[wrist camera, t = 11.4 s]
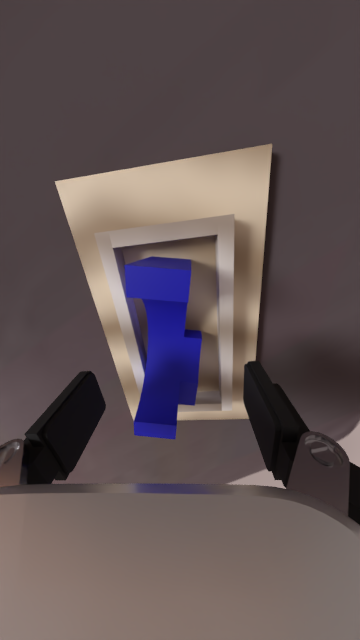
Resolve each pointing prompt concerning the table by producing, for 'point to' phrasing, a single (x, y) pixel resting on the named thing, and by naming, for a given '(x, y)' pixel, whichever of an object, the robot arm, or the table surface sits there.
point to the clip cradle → (185, 243)
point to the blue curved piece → (165, 343)
